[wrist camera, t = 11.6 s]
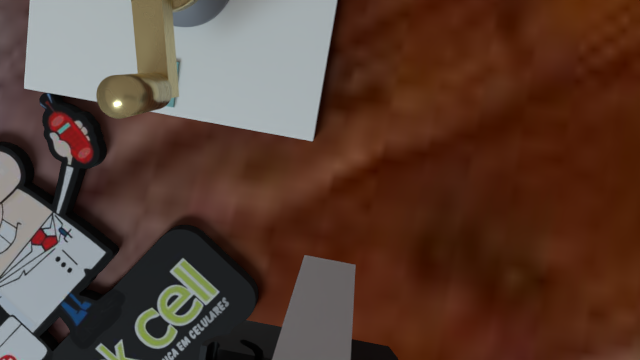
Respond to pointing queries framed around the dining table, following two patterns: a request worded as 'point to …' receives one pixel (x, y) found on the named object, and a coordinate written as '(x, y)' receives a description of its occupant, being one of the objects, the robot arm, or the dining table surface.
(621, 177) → the dining table surface
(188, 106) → the post board
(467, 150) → the dining table surface
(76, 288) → the sign
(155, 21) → the brass lever knob
